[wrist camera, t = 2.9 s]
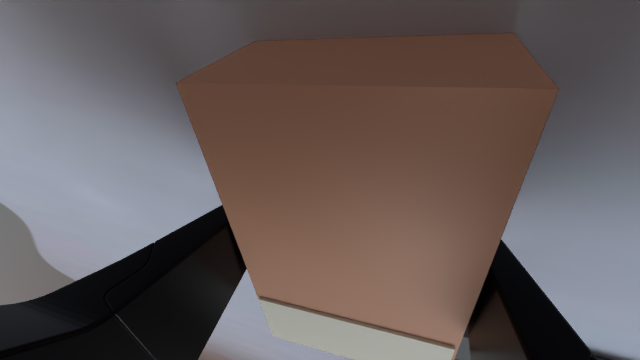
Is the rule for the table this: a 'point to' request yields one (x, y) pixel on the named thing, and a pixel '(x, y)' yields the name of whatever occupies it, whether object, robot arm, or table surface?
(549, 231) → the table surface
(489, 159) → the block
